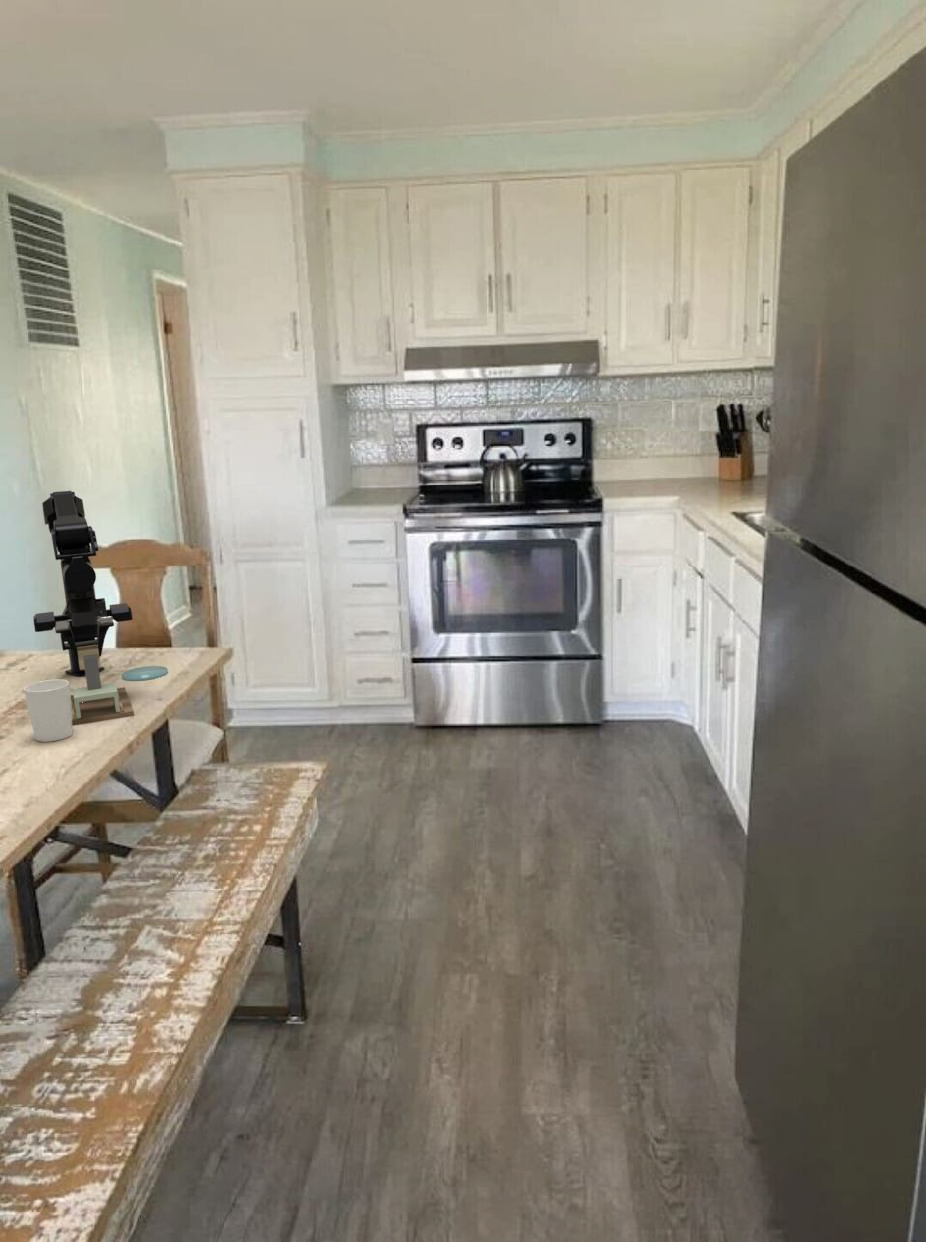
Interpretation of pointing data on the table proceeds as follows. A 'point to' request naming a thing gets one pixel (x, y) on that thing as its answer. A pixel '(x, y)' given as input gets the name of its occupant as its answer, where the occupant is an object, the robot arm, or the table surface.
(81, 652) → the block
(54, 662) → the table surface
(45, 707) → the white cup
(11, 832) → the table surface
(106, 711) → the puzzle board
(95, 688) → the sliding cover
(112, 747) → the table surface
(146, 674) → the teal saucer
